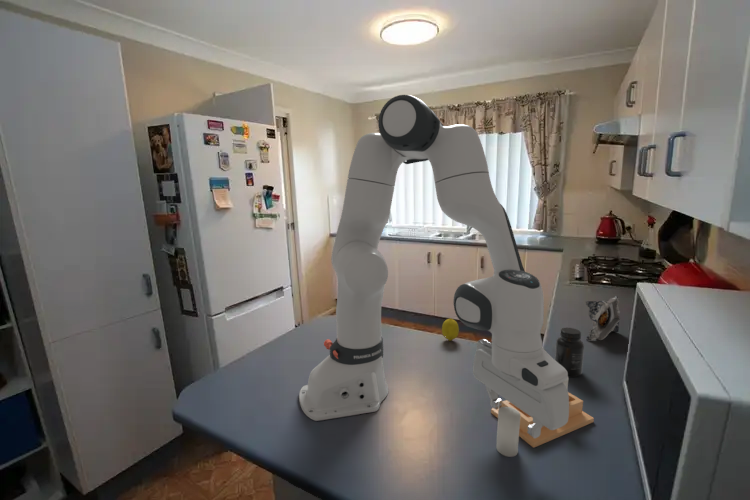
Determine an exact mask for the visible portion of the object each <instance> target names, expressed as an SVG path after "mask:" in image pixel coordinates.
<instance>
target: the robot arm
mask: <svg viewBox="0 0 750 500" xmlns="http://www.w3.org/2000/svg"><path fill="white" fill-rule="evenodd" d="M377 123H378V131H379V132H370V133H366V134H364V135H362V136H361V137H360V138H359V139H358V141H357V144H356V146H355V148H354V151H353V154H352V157H351V162H350V165H349V169H348V173H347V174H348V175H347V179H346V180H347V181H346V185H345V186H346V187H345V193H344V199H343V206H342V209H341V215H340V219H339V223H338V226H337V231H336V233H335V238H334V244H333V248H332V252H331V253H332V254H331V264H332V268H333V269H334V272H335V273H336V279H337V294H336V295H337V297H336V299H337V300H336V309H335V319H336V321H335V322H336V325H335V326H336V338H335V340H334V342H332V340H331V339H329V338H328V339H325V340H324V342H323V346H324V347H325V348H326V350H328V351H329V355H327V356H326V357H325V358H324V359H323V360H322V361H321V362H319V363H318V364H317V365H316V366H315V367H314V368H313V369H312V370H311V371H310V373H309V375H308V381H307V384H306V385H305V384H304V385H303V386H302V387H301V389H300V390H299V395H298V400H299V405H300V407H301V410H302V411H303V413H304V414H305V415H306V417H308V418H309V419H311V420H313V421H315V422H317V421H318V422H319V421H324V420H331V419H332V420H333V419H337V418H344V417H350V416H356V415H360V414H361V415H362V414H366V413H374V412H377V411H378V410H379V409H380V407H381V404H382V402H383V401H384V399H385V398H387V396H388V394H389V386H388V384H387V380H386V377H385V371H384V364H383V358H384V338H383V337H382V305H383V297H384V293H385V292H384V291H385V286H386V284H387V281H388V277H389V270H388V269H389V268H388V265H387V262H386V260H385V257H384V256H383V254H382V253H381V252H380V251H379V250H378V247H379V243H380V241H381V237H382V234H383V232H384V229H385V228H386V225H387V223H388V221H389V219H390V214H391V209H392V208H391V207H392V204H393V203H392V201H393V198H394V191H395V186H396V179H397V174H398V170H399V168H400V166H401V165H402V164H405V165H409V164H416V163H421V162H426V161H429V162H430V166H431V168H432V173H433V179H434V186H435V192H436V199H437V202H438V205H439V206H440V207H439V208H440V209H441V211H442V212H443V214H444V215H446V216H447V217H448V218H449V219H451V220H453V221H455V222H457V223H459V224H462V225H465V226H468V227H470V228H473V229H474V230H476V231H477V232H478V233H479V234H480V235H481V236H482V237H483V239H484V240H485V241H484V242H485V243H486V248H487V251H488V253H489V258H490V259H491V260H490V261H491V264H492V267H493V275H492V276H489V277H485V278H479V279H475V280H471V281H467V282H465V283H462V284H460V285H459V286H457V288H456V289H455V292H454V295H453V303H452V304H453V308H454V309H453V310H454V312H455V315H456V317H457V318H458V320H459V321H460V323H462V324H463V325H464V326H466V327H469V328H471V329H474V330H478V331H483V332H484V331H485V332H490V333H491V341H489V340H488V339H485V338H482V339H479V340H478V341H477V342H476V350H475V353H474V357H473V364H472V374H473V376H474V379H476V380H477V381H478V382H480V383H481V384H483V385H484V386H485V390H486V393H487V395H488V398H489V401H490V402H489V405H490V407H492V408H494V409H496V410H497V409H500V408H501V406H502V404H501V403H502V401H503V400H502V399H501V398H500V397H502V398H503V399H505V400H507V401H509V402H510V403H512V404H513V405H515V406H516V407H518V408H519V409H521V410H522V411H523V412H525V413H526V414H528V415H529V416H531V417H532V418H533V422H534V423H533V424H532V425H529V426H528V431H527V433H528V434H529V435H531V436H532V437H533V438H537V437H539V436H540V434H541V428H542V427H543V426H545V427H547V428H548V429H550V430H555V429H558V428H560V427H562V426H564V425H565V424H566V423H567V422H568V417H569V395H568V392H569V391H568V389H567V388H566V386H565V385H564V383H563V382H564V381H565V380H567V377H568V378H569V376H568V372H567V370H566V369H565V368H564V367H563V366H561V365H560V364H559V363H558V362H557V361H555V358H553V356H552V355H550V354H549V353H548V352H547V351H546V350H545V349H544V348H543V340H542V335H541V331H542V327H543V326H544V317H545V313H544V312H545V303H544V302H545V301H544V300H545V299H544V290H543V287H542V284H541V281H540V280H539V279H538V278H537V277H536V276H535V275H533V274H532V273H529V272H528V271H527V272H526V271H525V268H524V265H523V263H522V260H521V256H520V252H519V249H518V245H517V242H516V238H515V235H514V232H513V229H512V225H511V221H510V218H509V215H508V213H507V211H506V209H505V207H504V206H503V205H502V204H501V203H500V201H499V199H498V198H497V196H496V194H495V190H494V188H493V185H492V182H491V177H490V173H489V167H488V163H487V157H486V154H485V151H484V148H483V144H482V141H481V139H480V136H479V133H478V132H477V130H476V129H474V128H473V127H472V126H471V125H467V124H461V123H460V124H453V125H448V126H446V125H445V126H444V124H443V123H442V122H441V120H440V119H439V117H438V115H437V113H435V111H434V110H433V109H431V108H430V107H429V106H428V105H427V104H426V103H425V102H424V101H423V100H421V99H420V98H418V97H416V96H414V95H411V94H410V95H409V94H400V95H395V96H394V97H392V98H390V99H389V100H388V101H386V102H385V103H384V105H383V106H382V108H381V109H380V113H379V116H378V122H377ZM535 423H536V424H535Z"/></svg>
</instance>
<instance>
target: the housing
mask: <svg viewBox="0 0 750 500" xmlns="http://www.w3.org/2000/svg"><path fill="white" fill-rule="evenodd" d="M563 383H564V385H565V386H566V388H567V390H568V387H569V386H568V385H569V376H568V377H567V380H565V381H564V382H563ZM568 395H569V417H568V422H567V423H566V424H565V425H564V426H562V427H560V428H558V429H555V430H550V429H548V428H547V427H545V426H543V427H542V428H541V434H540V436H539V437H537V438H533V437H532V436H531V435H529V434H528V433H527V431H528V426H529V425H532V424H533V423H534V422H533V418H532V417H531V416H529V415H528V414H526V413H525V412H523V411H522V410H521V409H519V408H518V407H516V406H515V405H513V404H512V403H510V402H509V401H507V400H506V399H505V400H502V403H501V404H502V406H501V407H511V408H514V409H516V410H517V411H518V412H519V413H520V428H519V438H521V439H522V440H523V441H524V442H526V443H527V444H528V445H530V446H531V447H532V448H533V449H534V448H536V447H539V446H542V445H543V444H545V443H548V442H551V441H553V440H555V439H557V438H560V437H563V436H564V435H567V434H569V433H571V432H573V431H576V430H578V429H581V428H583V427H585V426H587V425H590V424H592V423H594V421H595V420H594V419H595V418H594V417H593V416H591V415H589V414H588V413H586V412H585V411H583V407H584V405H583V404H584V400H583V399H580V398H579V397H577V396H576V395H574V394H572V393H571V392H569V391H568ZM498 410H499V409H497V410H496V409H494V408H493V407H492V408H491V409H490V413H491V414H492V415H493V416H494V417H496V418H497V419H498ZM535 424H536V423H535Z"/></svg>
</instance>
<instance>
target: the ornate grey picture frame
mask: <svg viewBox="0 0 750 500" xmlns="http://www.w3.org/2000/svg"><path fill="white" fill-rule="evenodd" d="M619 304H620V298H619V297H618V296H617V295H614V297H610V298H609V299H608V301H606V300H599V301H596V300H595V301H594V300H593V301H589V300H588V301H585V305H586V306H587V307H588V308H589V310H588V316H589V318H590V320H591V321H592V322H591V323H592V326H593V327H592V328H591V329H589V332H588V333H589V334H588V335H587V336H586V341H594V340H598V341H602V340H604V339H606V338H607V336H608V335H609V334H610V333H619V329H620V320H621V317H620V316H619V315H620V313H621V310H620V309H619Z"/></svg>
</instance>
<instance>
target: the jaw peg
mask: <svg viewBox="0 0 750 500" xmlns="http://www.w3.org/2000/svg"><path fill="white" fill-rule="evenodd" d="M519 428H520V413H519V412H518V411H517V410H516V409H514V408H511V407H501V408H500V409H499V410H498V418H497V428H496V445H495V447H496V450H497V452H498V453H499V454H501V455H502V456H503V457H507V458H508V457H510V458H513V457H516V456H517V455H518V452H519V440H520V436H519Z"/></svg>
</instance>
